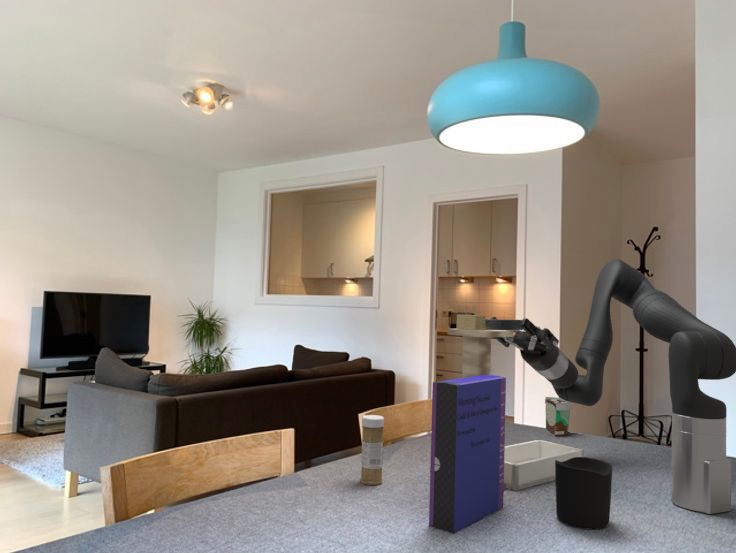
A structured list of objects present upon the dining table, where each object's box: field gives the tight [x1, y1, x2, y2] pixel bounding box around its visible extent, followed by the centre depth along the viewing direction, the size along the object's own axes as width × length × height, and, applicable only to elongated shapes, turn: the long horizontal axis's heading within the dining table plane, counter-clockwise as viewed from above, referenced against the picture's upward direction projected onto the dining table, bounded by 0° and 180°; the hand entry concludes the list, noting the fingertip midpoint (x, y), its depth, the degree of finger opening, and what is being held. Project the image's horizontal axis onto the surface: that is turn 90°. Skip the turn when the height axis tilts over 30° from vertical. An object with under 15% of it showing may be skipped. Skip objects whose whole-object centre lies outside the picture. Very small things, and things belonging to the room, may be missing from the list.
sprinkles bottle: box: [360, 414, 385, 486], centre depth 123 cm, size 5×5×14 cm
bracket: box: [447, 328, 514, 491], centre depth 123 cm, size 10×9×32 cm
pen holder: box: [555, 456, 613, 530], centre depth 105 cm, size 9×9×10 cm
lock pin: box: [456, 314, 524, 331], centre depth 127 cm, size 18×5×3 cm, turn 129°
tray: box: [504, 439, 585, 492], centre depth 133 cm, size 25×12×5 cm, turn 129°
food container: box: [544, 396, 573, 438], centre depth 178 cm, size 12×6×10 cm, turn 179°
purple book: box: [428, 374, 507, 535], centre depth 106 cm, size 17×5×24 cm, turn 141°
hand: (507, 321), depth 129 cm, fingers open, 8 cm apart
